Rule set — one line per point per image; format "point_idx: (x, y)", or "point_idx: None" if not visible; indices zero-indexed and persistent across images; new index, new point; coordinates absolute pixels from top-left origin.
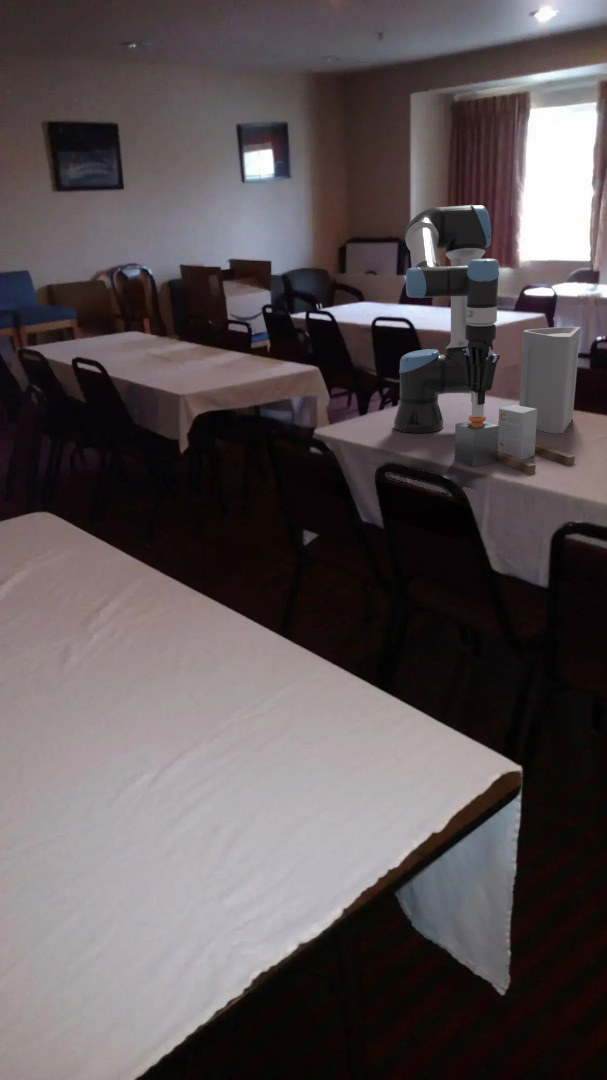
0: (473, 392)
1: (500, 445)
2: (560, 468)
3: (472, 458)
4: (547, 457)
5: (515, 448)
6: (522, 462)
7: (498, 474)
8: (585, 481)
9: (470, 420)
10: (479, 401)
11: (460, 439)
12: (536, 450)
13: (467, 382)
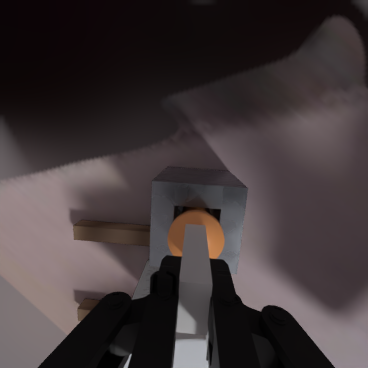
0: (201, 281)
1: None
2: (76, 277)
3: (167, 169)
4: None
5: (154, 271)
6: (96, 231)
7: (106, 175)
8: (5, 257)
9: (197, 210)
10: (168, 263)
11: (214, 177)
12: None
13: (286, 333)
